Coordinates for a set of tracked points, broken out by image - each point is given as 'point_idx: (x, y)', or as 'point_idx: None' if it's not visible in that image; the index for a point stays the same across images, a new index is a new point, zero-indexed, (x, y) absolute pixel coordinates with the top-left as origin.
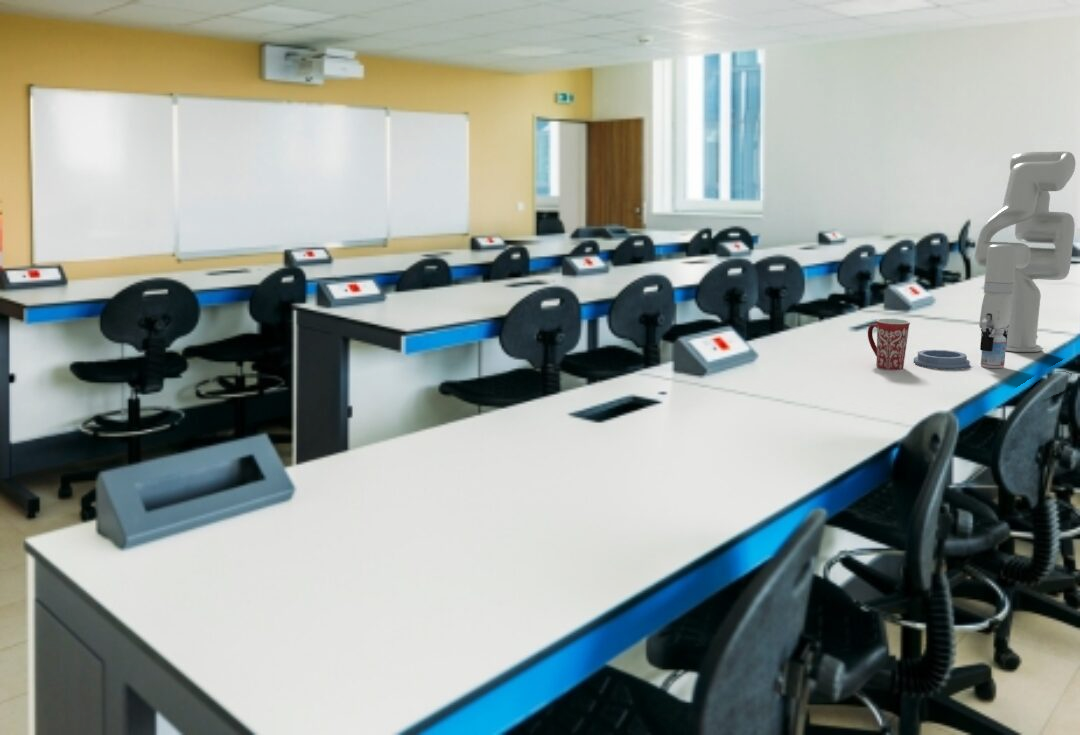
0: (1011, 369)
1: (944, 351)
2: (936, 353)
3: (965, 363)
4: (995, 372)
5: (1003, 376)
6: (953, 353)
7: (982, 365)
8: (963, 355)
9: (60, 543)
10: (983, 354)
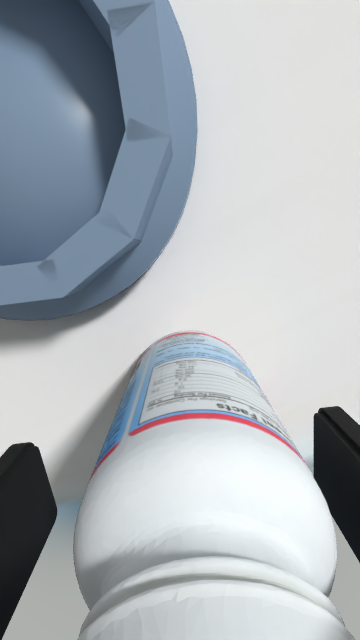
0: None
1: (108, 25)
2: None
3: (38, 310)
4: (77, 452)
5: None
6: (127, 130)
7: (138, 360)
8: (59, 270)
9: None
10: (124, 395)
